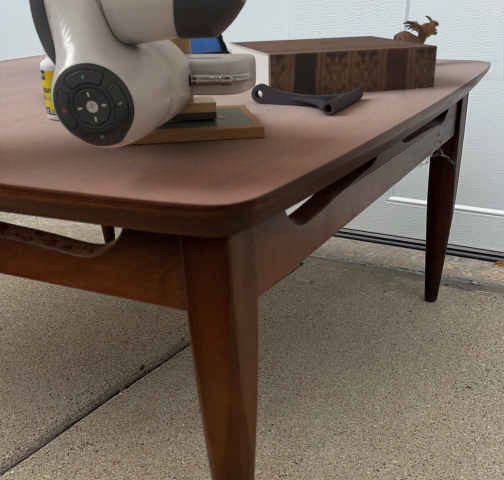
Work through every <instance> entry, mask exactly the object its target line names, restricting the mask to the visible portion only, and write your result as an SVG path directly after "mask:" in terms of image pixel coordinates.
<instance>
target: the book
mask: <svg viewBox="0 0 504 480" xmlns="http://www.w3.org/2000/svg"><path fill="white" fill-rule="evenodd" d="M229 45H230V46H231V54H251V55H253V56H254V57H255V61H256V84H255V86H256V85H258V84H261V83H263V84H266V85H268V86H270V87H273V88H277V89H280V90H283V91H286V92H292V93H298V94H304V95H331V94H345V93H347V92H350V91H352V90H354V89H356V88H361V89H362V90H363V93H373V92H375V93H376V92H388V91H402V90H403V91H404V90H416V88H419V89H429V88H428V87H433V88H435V87H434V86H435V76H436V67H437V66H436V65H437V53H438V45H433V44H426V43H424V44H421V43H414V42H408V41H401V40H394V39H393V38H387V37H382V36H375V35H360V36H359V35H358V36H341V37H340V36H339V37H338V36H337V37H318V38H296V39H295V38H293V39H277V40H276V39H275V40H274V39H273V40H255V41H254V40H253V41H234V42H233V41H231V42H229ZM255 86H254V87H255ZM254 87H253V88H254ZM253 88H252V89H253ZM252 89H251V90H252ZM258 94H260V95H262V92H261V91H260V90H259V92H258Z"/></svg>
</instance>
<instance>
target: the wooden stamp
mask: <svg viewBox="0 0 504 480" xmlns="http://www.w3.org/2000/svg"><path fill="white" fill-rule="evenodd" d="M169 40H170V41H171V42H173V43H174V44H175V45H176V46H177V47H178V48H179V49H180V50H181V51H182V52H183V53H184V54H191V42H190V39H179V38H176V39H169ZM216 106H217V101H216V100H215V99H214V97H213V95H199V96H195V95H190V98H189V100H188V102H187V104H186V106H185V107H184V108H183V109H182V111H181V112H179V113H178V114H177V115H176V116H174V117H173V118H171V119H170V120H169V121H183V120H203V119H217V112H216Z"/></svg>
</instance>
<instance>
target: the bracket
mask: <svg viewBox="0 0 504 480" xmlns="http://www.w3.org/2000/svg"><path fill="white" fill-rule="evenodd" d="M259 90H260V91H261V92H262V94H261V96H260V95H259V94H260V93H258V92H259ZM250 95H251V99H252V100H253V102H255V103H257V104H265V105H267V104H268V105H284V106H285V105H287V106H308V107H318V108H319V109H320V110H321V111H322V113H323V114H325V115H327V116H330V115H332V114H334V113H336V112H338V111H340V110H342V109H344V108H346V107H347V106H349V105H351V104H353V103H355V102H356V101H357V102H358V100H361V99H362V98H363V97H364V92H363V90H362V89H361V88H356V89H354V90H352V91H350V92H347V93H345V94H331V95H304V94H298V93H292V92H286V91H283V90H280V89H277V88H273V87H270V86H268V85H266V84H263V83H261V84H258V85H256V86H255V87H254V88H253V89H251V94H250Z"/></svg>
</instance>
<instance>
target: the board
mask: <svg viewBox="0 0 504 480" xmlns="http://www.w3.org/2000/svg"><path fill="white" fill-rule="evenodd" d="M216 112H217V119H203V120H183V121H167V122H166V123H164V124H163V125H161V126H159V127H157V128H156V129H155V130H154V131H153V132H151V133H150V134H148V135H147V136H145V137H143V138H141V139H139V140H137V141H135V142H133V143H131V144H128V145H127V146H129V145H131V146H132V145H134V146H135V145H148V144H151V145H152V144H165V143H167V144H169V143H183V142H185V143H187V142H204V141H205V142H206V141H218V140H219V141H220V140H222V141H223V140H238V139H239V140H241V139H258V138H259V139H260V138H265V137H266V127H265V126H264V125H263V124H262V123H261V121H260V120H259V119H258V118H257V117H256V116H255V115H254V114H253V113H252V112H251V111H250V109H249V108H248V107H247V106H246V105H245V104H232V105H231V104H229V105H216Z"/></svg>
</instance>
